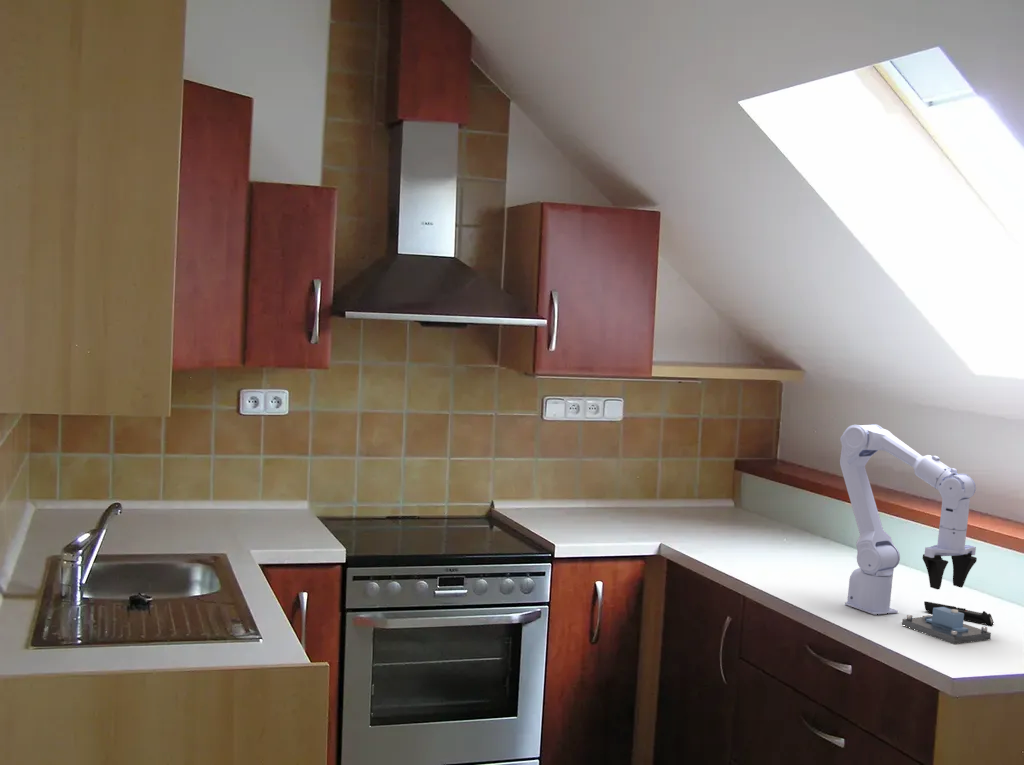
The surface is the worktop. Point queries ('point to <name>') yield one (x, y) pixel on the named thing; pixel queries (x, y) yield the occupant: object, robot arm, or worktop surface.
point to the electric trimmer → (968, 614)
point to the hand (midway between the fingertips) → (946, 587)
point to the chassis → (945, 634)
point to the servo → (948, 619)
